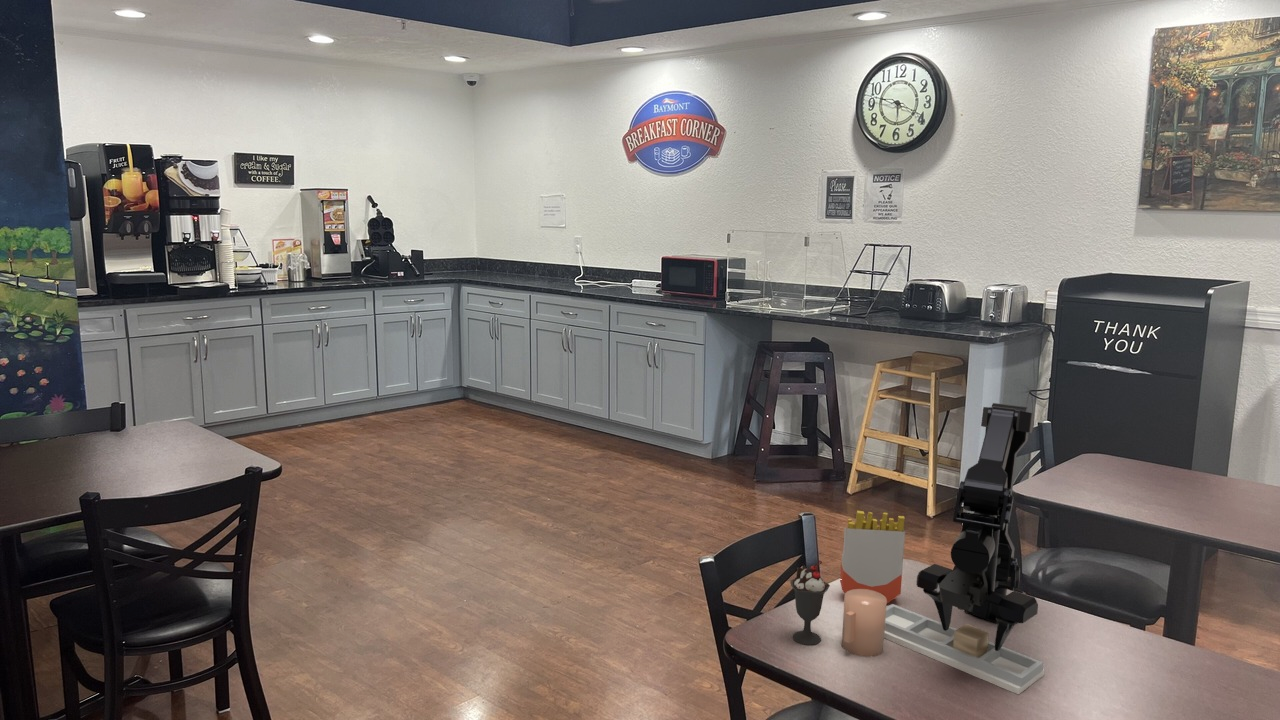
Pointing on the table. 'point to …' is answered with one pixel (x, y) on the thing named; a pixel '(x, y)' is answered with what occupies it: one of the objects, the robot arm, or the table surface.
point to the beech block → (971, 640)
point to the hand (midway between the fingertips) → (971, 639)
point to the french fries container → (873, 555)
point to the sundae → (808, 601)
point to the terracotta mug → (864, 622)
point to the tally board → (938, 644)
